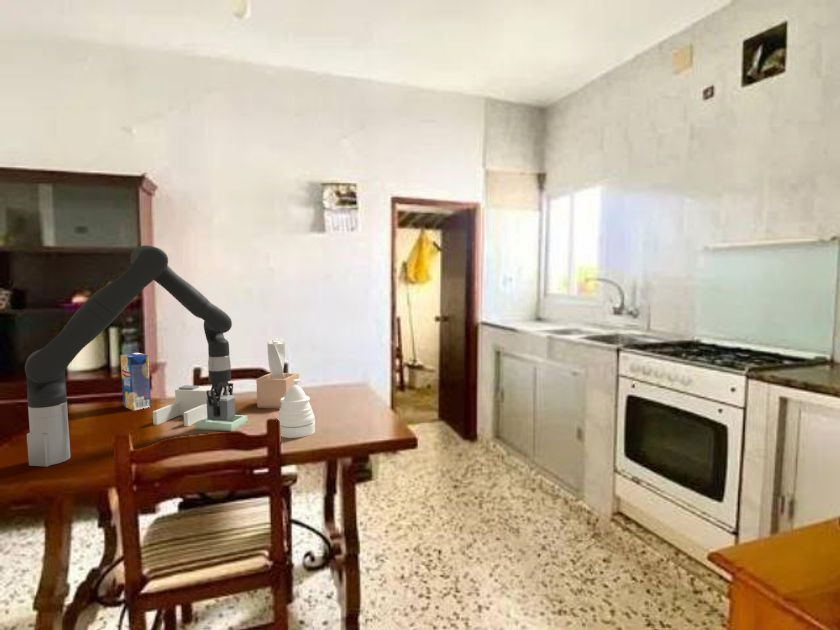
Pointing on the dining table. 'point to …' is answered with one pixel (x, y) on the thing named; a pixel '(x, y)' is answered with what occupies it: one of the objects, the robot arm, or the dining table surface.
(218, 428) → the tray
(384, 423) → the dining table surface
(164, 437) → the dining table surface
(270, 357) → the skyscraper
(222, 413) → the grey gripped cube
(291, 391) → the honey pot
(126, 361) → the beverage box
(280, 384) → the open tan box
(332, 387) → the dining table surface
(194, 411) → the white dispenser chute
